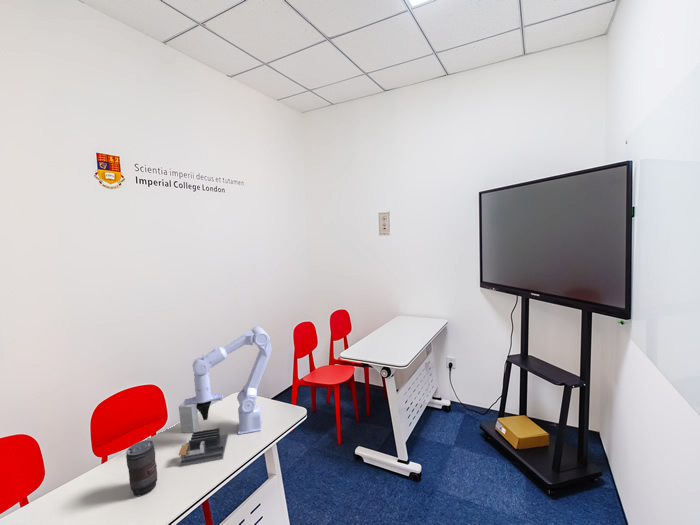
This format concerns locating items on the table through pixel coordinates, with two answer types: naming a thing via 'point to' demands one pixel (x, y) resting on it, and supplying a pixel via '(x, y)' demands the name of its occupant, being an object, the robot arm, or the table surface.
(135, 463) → the camera lens
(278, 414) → the table surface
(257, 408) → the robot arm
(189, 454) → the clip
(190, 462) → the heatsink
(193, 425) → the skincare box
